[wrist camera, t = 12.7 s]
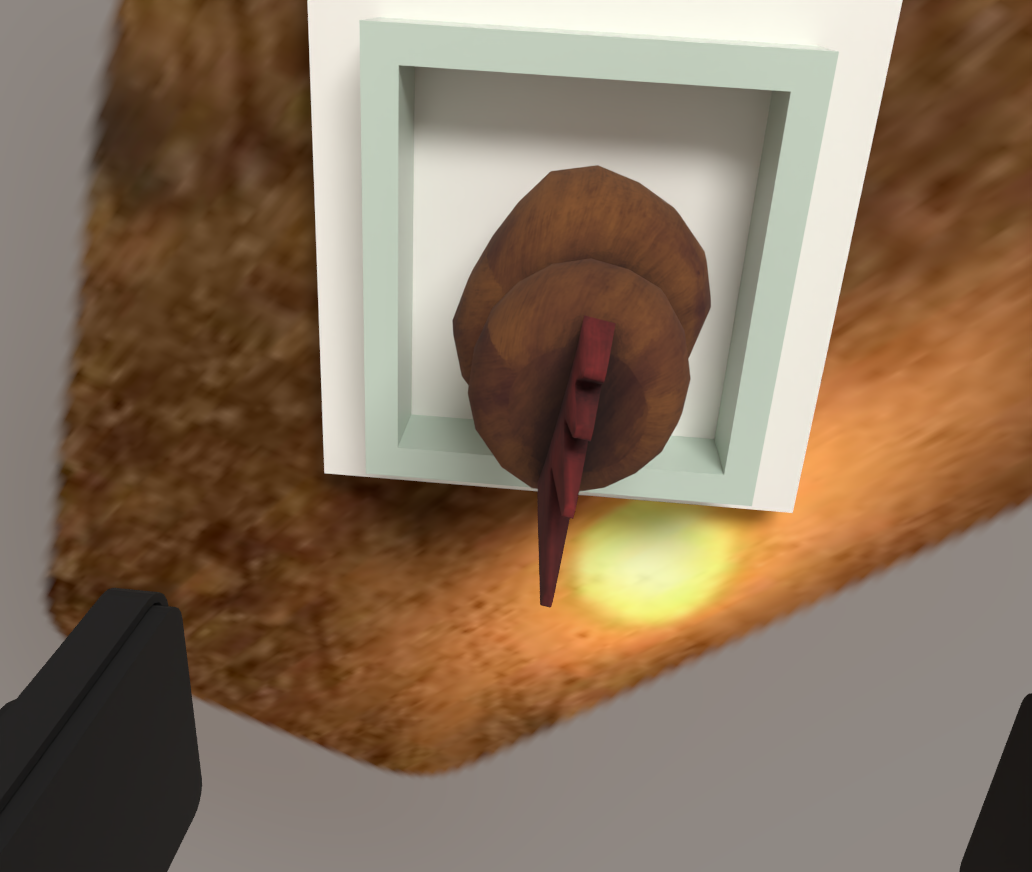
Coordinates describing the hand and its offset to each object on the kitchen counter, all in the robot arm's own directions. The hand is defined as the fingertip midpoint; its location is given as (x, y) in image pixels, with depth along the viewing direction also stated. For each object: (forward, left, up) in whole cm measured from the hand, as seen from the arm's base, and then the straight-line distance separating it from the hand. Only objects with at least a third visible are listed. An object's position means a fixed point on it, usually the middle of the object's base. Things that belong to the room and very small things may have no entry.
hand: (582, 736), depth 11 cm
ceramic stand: (0, 0, -22) cm, 22 cm away
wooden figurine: (0, 0, -20) cm, 20 cm away
